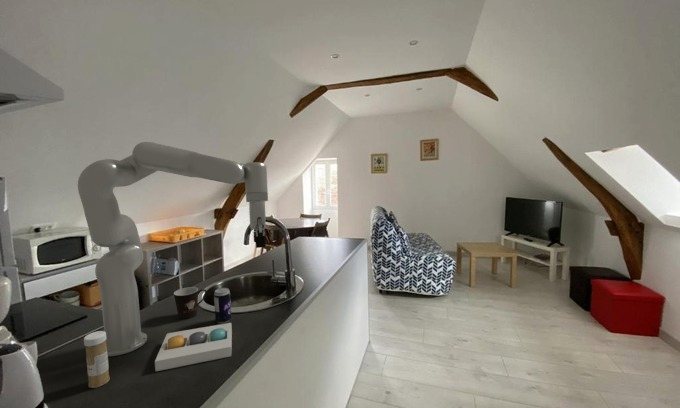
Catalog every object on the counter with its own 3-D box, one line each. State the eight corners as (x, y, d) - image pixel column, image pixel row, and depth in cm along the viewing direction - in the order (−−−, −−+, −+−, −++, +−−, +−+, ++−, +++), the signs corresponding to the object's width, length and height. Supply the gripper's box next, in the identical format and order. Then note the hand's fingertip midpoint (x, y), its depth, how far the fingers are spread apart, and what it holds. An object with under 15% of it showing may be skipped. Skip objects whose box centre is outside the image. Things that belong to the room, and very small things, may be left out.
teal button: (210, 344, 93) (209, 336, 93) (211, 337, 98) (210, 329, 97) (225, 341, 95) (224, 333, 95) (225, 334, 99) (225, 327, 99)
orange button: (166, 352, 90) (166, 344, 89) (169, 344, 94) (169, 336, 93) (183, 349, 91) (182, 341, 91) (185, 341, 95) (184, 334, 95)
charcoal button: (188, 348, 92) (188, 340, 91) (190, 340, 96) (190, 333, 95) (204, 345, 93) (204, 337, 93) (205, 337, 97) (205, 330, 97)
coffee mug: (174, 322, 112) (172, 297, 111) (176, 313, 120) (174, 289, 119) (208, 316, 117) (206, 291, 116) (208, 307, 124) (206, 284, 124)
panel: (155, 371, 84) (154, 361, 83) (167, 342, 99) (167, 333, 98) (231, 356, 90) (230, 346, 90) (231, 330, 105) (231, 322, 105)
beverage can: (226, 325, 109) (224, 293, 108) (212, 323, 111) (210, 292, 109) (234, 318, 115) (232, 287, 114) (221, 316, 116) (219, 287, 115)
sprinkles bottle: (85, 385, 79) (80, 336, 77) (106, 375, 83) (101, 328, 81) (92, 391, 76) (87, 341, 75) (113, 380, 80) (109, 333, 79)
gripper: (245, 196, 113) (247, 240, 115) (247, 199, 97) (250, 250, 99) (265, 195, 116) (267, 238, 117) (270, 198, 100) (273, 248, 101)
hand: (259, 244), depth 108 cm, fingers open, 9 cm apart
